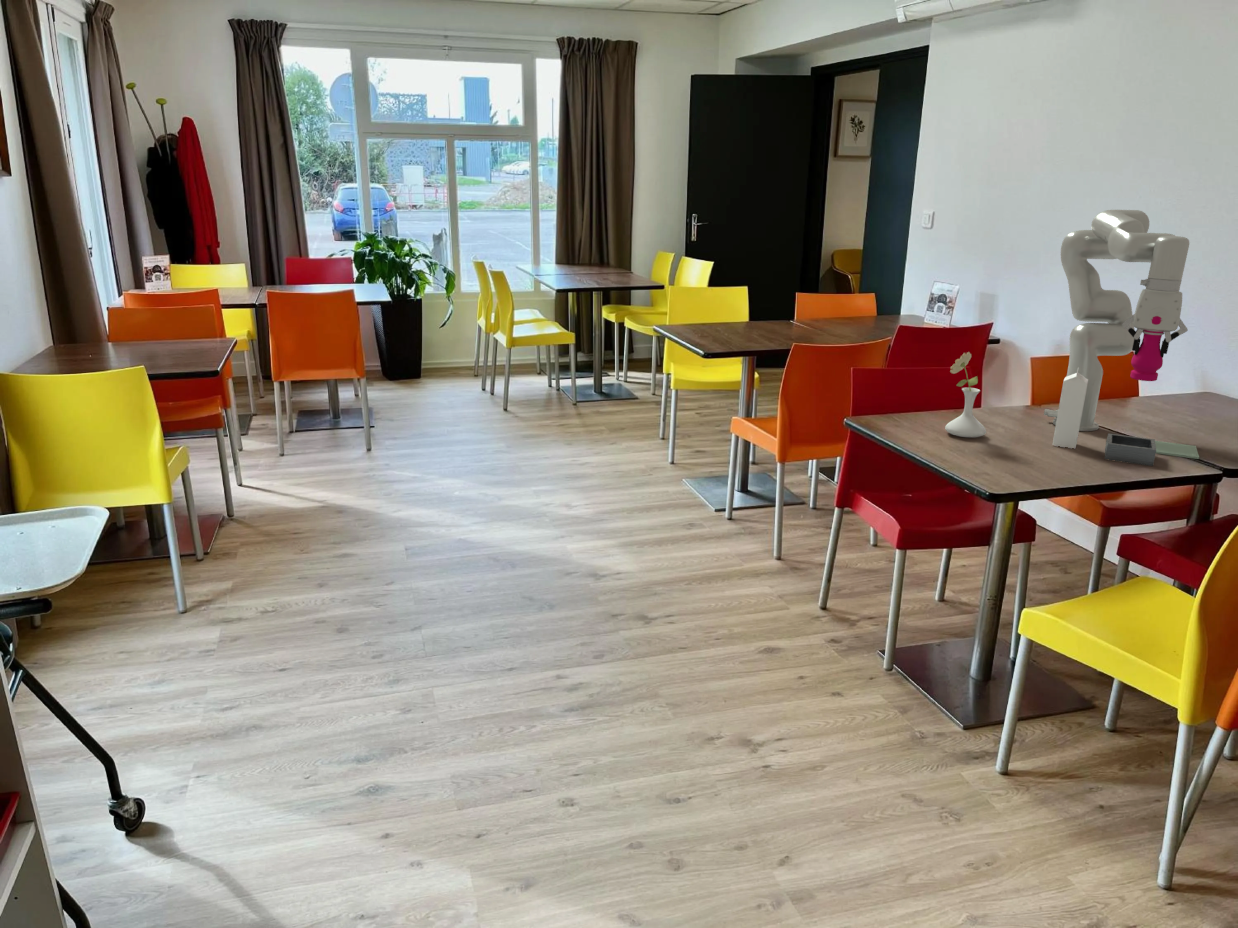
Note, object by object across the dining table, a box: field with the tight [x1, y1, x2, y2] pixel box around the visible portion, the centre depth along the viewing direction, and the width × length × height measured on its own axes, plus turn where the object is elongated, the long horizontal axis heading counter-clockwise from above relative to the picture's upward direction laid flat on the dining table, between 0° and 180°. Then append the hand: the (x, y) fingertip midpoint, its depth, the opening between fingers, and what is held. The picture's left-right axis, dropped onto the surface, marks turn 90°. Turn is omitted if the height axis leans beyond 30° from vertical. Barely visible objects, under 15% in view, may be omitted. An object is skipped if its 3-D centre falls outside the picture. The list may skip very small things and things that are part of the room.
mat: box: [1155, 440, 1200, 460], centre depth 249 cm, size 14×12×1 cm
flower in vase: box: [944, 351, 987, 438], centre depth 256 cm, size 13×11×25 cm
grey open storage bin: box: [1104, 433, 1156, 467], centre depth 241 cm, size 11×11×4 cm
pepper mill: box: [1130, 316, 1165, 382], centre depth 232 cm, size 7×7×20 cm
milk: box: [1052, 368, 1088, 450], centre depth 249 cm, size 6×6×22 cm
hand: (1148, 354), depth 233 cm, fingers closed on pepper mill, 5 cm apart
